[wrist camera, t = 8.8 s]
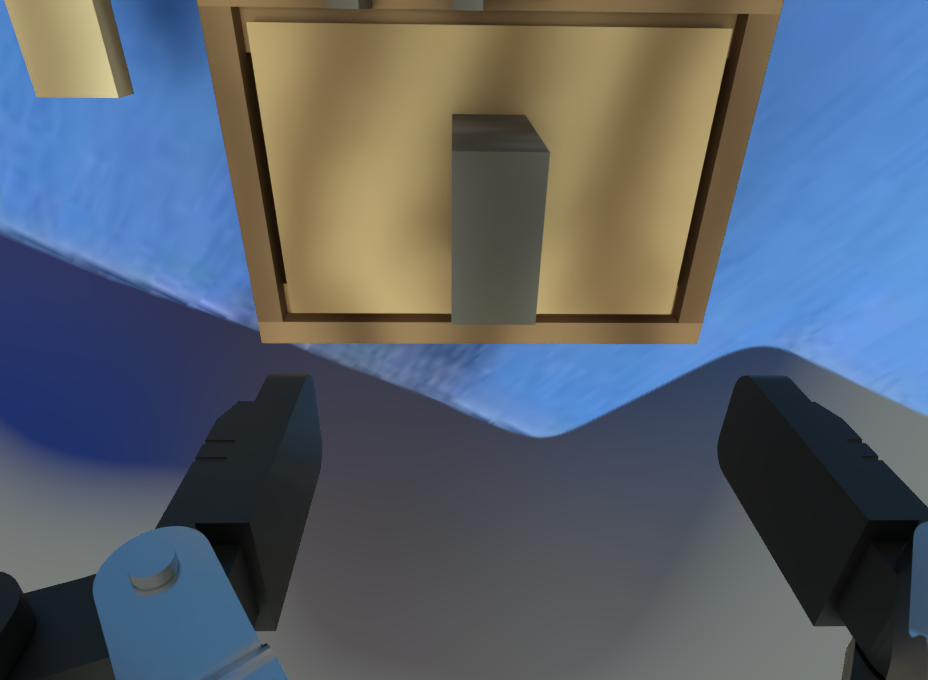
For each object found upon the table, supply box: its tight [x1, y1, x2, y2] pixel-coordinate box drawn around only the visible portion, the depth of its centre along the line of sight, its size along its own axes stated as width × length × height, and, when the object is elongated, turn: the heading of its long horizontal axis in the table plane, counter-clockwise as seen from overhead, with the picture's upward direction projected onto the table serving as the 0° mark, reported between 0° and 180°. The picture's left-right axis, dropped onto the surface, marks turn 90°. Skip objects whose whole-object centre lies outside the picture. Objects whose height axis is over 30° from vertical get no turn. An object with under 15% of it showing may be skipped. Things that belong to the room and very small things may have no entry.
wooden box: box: [197, 0, 784, 344], centre depth 26 cm, size 22×18×12 cm
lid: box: [246, 21, 733, 325], centre depth 22 cm, size 19×12×8 cm, turn 89°
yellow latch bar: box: [5, 0, 134, 98], centre depth 20 cm, size 19×6×3 cm, turn 89°
